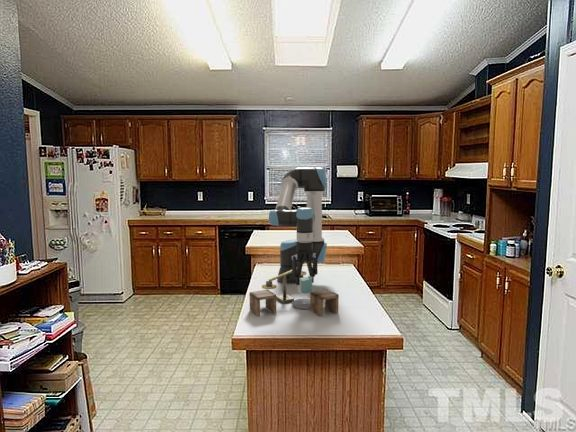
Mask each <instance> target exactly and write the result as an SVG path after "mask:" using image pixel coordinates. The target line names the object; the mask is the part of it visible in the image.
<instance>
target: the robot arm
mask: <svg viewBox="0 0 576 432" xmlns="http://www.w3.org/2000/svg"><path fill="white" fill-rule="evenodd" d="M327 180H328V179H327V174H326V170H325V168H324V167H296V168H293V169H291V170H289V171H287V173H285V175H283V177H282V178H281V182H280V187H281V188H280V192H279V196H278V198H277V199H278V200H277V202H276V206H275V209H271V210H269V213H268V222H269V224H270V226H278V227H279V226H280V227H281V226H282V227H286V226H287V227H288V226H290V227H296V239H288V240H284V241H281V242H280V246H279V247H280V248H279V259H280V264H279V266H280V267H279V270H278V273H277V276H278V275H281V274H283V273H285V272H288V271H290V270H292V272H291V273H289V274H287V275H286V284H296V287H297V290H296V291H297V292H299V293H301V292H302V278H304V275H303V276H300V275H301V271H303V267H304V264H305V263H306V266H307V270H308V275H307V277H308V278H310V279H312V284H314V283H315V282H314V281H315V280H314V278H315V277H316V275H318V264H323V263H325V260H326V254H327V246H328V243H327V242H325V238H323V235H322V234H323V231H322V230H323V227H322V226H323V225H322V223H323V220H322V219H323V218H322V217H323V200H322V199H323V194H324V193H325V191H326V189H328V181H327ZM298 189H303V192H304V193H305V194H306V207H298V208H297V209H295V210H292V206H293V202H294V197H295V195H296V194H295V193H296V191H297V190H298ZM276 280H277V282H280V283H282V284H283V276H282V277H280V278H278V279H276Z"/></svg>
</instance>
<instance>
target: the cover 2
mask: <svg viewBox="0 0 576 432" xmlns="http://www.w3.org/2000/svg"><path fill="white" fill-rule="evenodd" d="M309 296H310V297H309V299H310V309H309V311H310V312H312V313H313V314H315V315H317V316H318V317H320V318H322V317H324V308H325V309H326V310H328V311H330V312H332V313H333V314H335V315H336V314H337V315H338V314H339V294H338V293H336V292H334V291H332V290H329V289H322V290H316V291H312V292H310V293H309Z"/></svg>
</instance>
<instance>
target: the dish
mask: <svg viewBox="0 0 576 432" xmlns="http://www.w3.org/2000/svg"><path fill="white" fill-rule="evenodd" d="M291 306H292V308H294V309H298V310H307V311H308V310H310V298H298V299H294V301H293V302H291Z"/></svg>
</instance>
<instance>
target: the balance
mask: <svg viewBox="0 0 576 432" xmlns="http://www.w3.org/2000/svg"><path fill="white" fill-rule="evenodd" d="M291 272H292V270H290V271H288V272H285V273H283V274H281V275H278V274H277V275H276V276H274V277H272V278H269V279H268V280H267V281H265V284H263V285H261V288H262V289H263V290H274V289H277V284H274V283H273V281H276V280H277V279H278V278H280V277H282V276H283V283H282V294H279V295H276V301H278V302H279V303H281V304H288V303H292V302H293V301H294V300H295V298H294V297H292V296H290V295H289V294H287V283H286V275H287V274H289V273H291ZM306 275H307V271H303V270H302V271H301V275H300V276H303V277H304V276H306Z"/></svg>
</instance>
